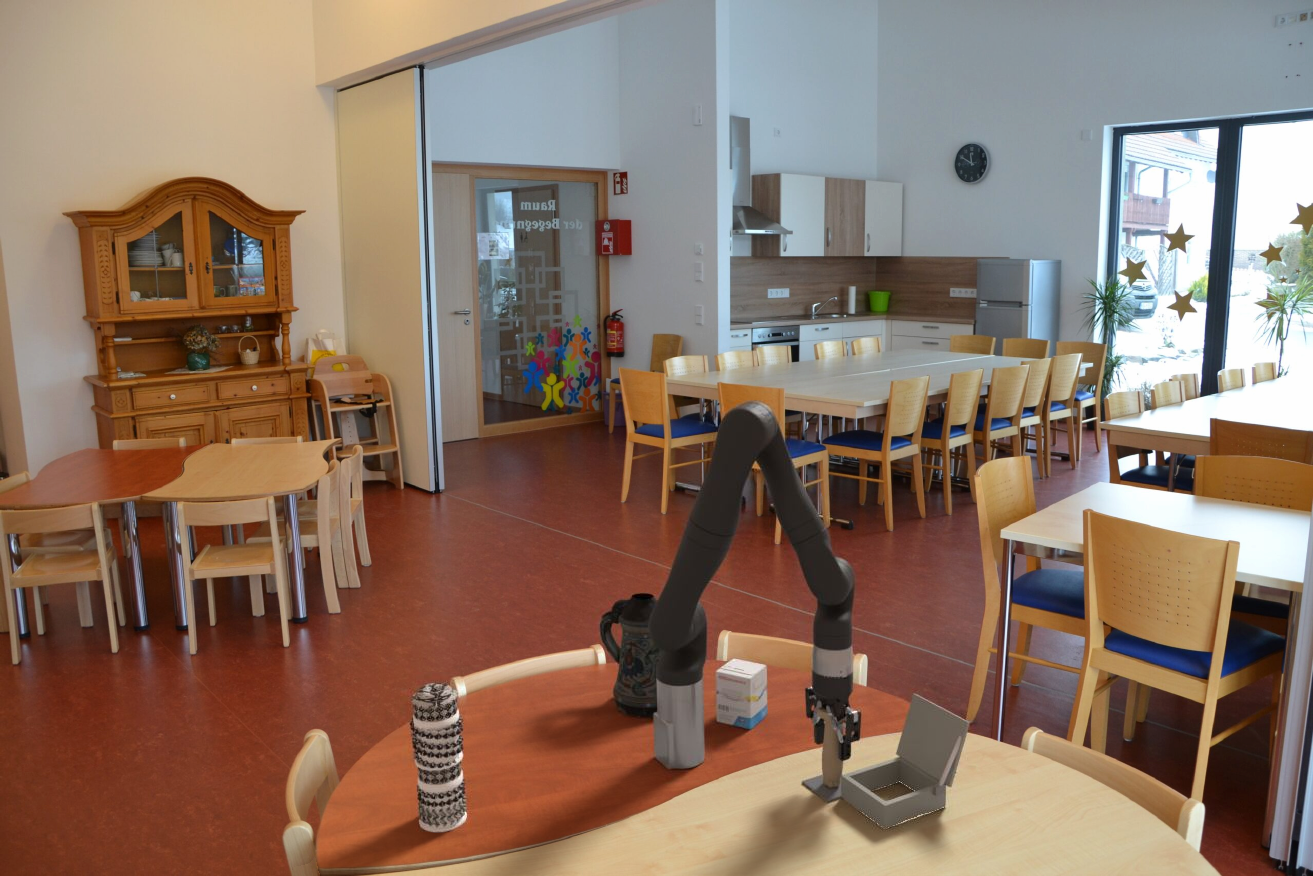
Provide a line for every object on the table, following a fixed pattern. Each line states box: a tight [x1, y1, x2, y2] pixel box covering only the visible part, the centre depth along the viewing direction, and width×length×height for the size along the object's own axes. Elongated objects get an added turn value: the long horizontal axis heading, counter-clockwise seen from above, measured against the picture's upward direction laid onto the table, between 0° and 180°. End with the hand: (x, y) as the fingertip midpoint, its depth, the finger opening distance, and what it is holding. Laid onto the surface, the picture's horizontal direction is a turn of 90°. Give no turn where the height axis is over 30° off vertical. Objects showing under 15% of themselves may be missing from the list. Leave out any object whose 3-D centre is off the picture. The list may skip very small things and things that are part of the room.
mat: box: [801, 774, 842, 803], centre depth 184 cm, size 8×8×1 cm
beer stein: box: [599, 592, 663, 719], centre depth 221 cm, size 16×19×25 cm
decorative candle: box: [409, 682, 468, 833], centre depth 175 cm, size 9×9×25 cm
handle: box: [817, 707, 853, 788], centre depth 183 cm, size 5×6×15 cm
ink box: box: [715, 658, 768, 730], centre depth 213 cm, size 9×8×12 cm
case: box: [840, 693, 971, 830], centre depth 178 cm, size 18×14×16 cm
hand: (832, 751), depth 183 cm, fingers open, 6 cm apart
